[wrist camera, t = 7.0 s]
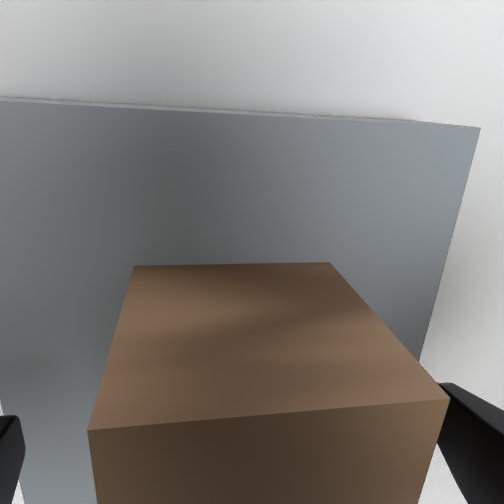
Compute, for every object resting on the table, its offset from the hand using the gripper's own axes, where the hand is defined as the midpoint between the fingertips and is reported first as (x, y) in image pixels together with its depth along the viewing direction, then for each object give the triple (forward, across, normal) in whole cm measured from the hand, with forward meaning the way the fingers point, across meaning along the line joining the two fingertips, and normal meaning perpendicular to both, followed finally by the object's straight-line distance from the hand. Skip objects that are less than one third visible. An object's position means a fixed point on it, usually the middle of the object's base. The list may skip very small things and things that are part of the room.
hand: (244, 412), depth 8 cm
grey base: (+6, 0, 0) cm, 6 cm away
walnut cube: (+2, 0, 0) cm, 3 cm away
